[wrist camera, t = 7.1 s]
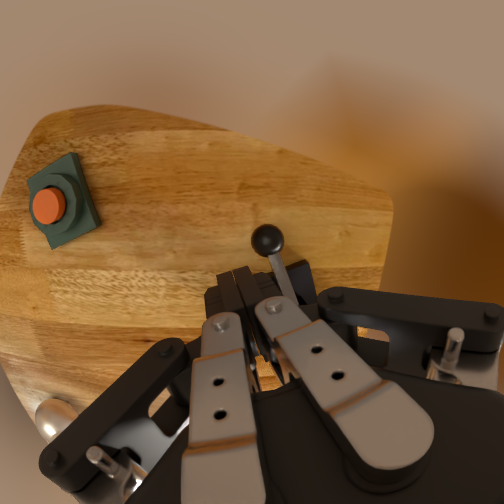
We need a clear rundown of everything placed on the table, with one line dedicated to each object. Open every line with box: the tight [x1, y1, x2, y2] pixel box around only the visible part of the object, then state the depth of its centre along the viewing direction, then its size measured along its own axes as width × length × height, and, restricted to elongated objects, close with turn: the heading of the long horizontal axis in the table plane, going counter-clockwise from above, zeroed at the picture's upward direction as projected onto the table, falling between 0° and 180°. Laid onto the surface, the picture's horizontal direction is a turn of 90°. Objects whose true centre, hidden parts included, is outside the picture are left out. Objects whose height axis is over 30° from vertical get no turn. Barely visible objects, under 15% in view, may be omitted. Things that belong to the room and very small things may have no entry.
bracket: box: [236, 259, 317, 362], centre depth 29 cm, size 12×9×13 cm
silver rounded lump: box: [35, 399, 78, 443], centre depth 30 cm, size 9×10×10 cm
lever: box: [251, 224, 299, 305], centre depth 26 cm, size 16×3×3 cm, turn 18°
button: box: [33, 188, 66, 224], centre depth 22 cm, size 4×4×2 cm
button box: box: [27, 152, 101, 250], centre depth 25 cm, size 9×7×4 cm
